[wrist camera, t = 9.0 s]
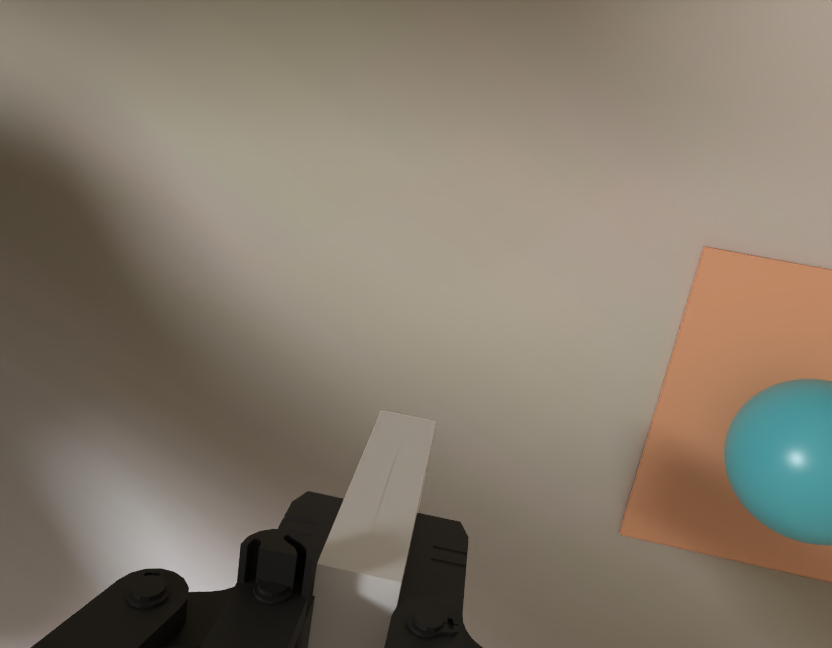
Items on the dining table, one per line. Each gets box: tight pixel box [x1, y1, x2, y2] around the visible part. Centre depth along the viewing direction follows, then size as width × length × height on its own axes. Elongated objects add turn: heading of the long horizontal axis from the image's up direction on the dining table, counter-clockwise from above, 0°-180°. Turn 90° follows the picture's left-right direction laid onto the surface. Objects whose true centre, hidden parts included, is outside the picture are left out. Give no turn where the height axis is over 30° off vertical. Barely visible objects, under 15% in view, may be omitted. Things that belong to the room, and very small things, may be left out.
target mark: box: [619, 246, 832, 582], centre depth 25 cm, size 12×12×1 cm
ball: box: [724, 379, 832, 545], centre depth 23 cm, size 6×6×6 cm
